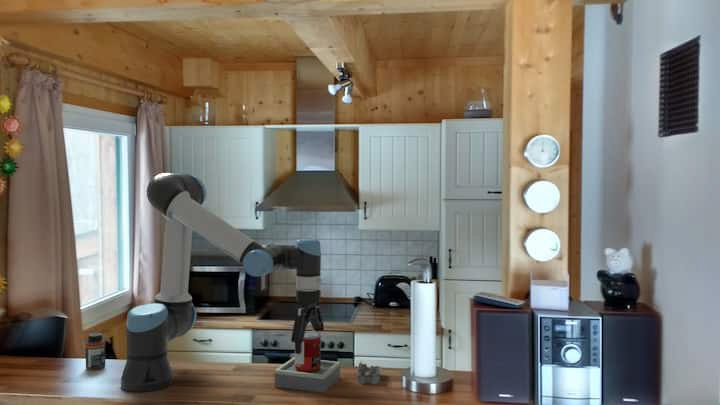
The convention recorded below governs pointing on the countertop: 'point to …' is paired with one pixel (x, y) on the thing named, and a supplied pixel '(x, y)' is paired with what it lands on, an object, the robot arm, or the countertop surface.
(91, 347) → the supplement bottle
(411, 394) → the countertop surface
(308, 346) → the canned food
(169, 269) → the robot arm
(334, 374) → the tray
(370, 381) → the egg carton
